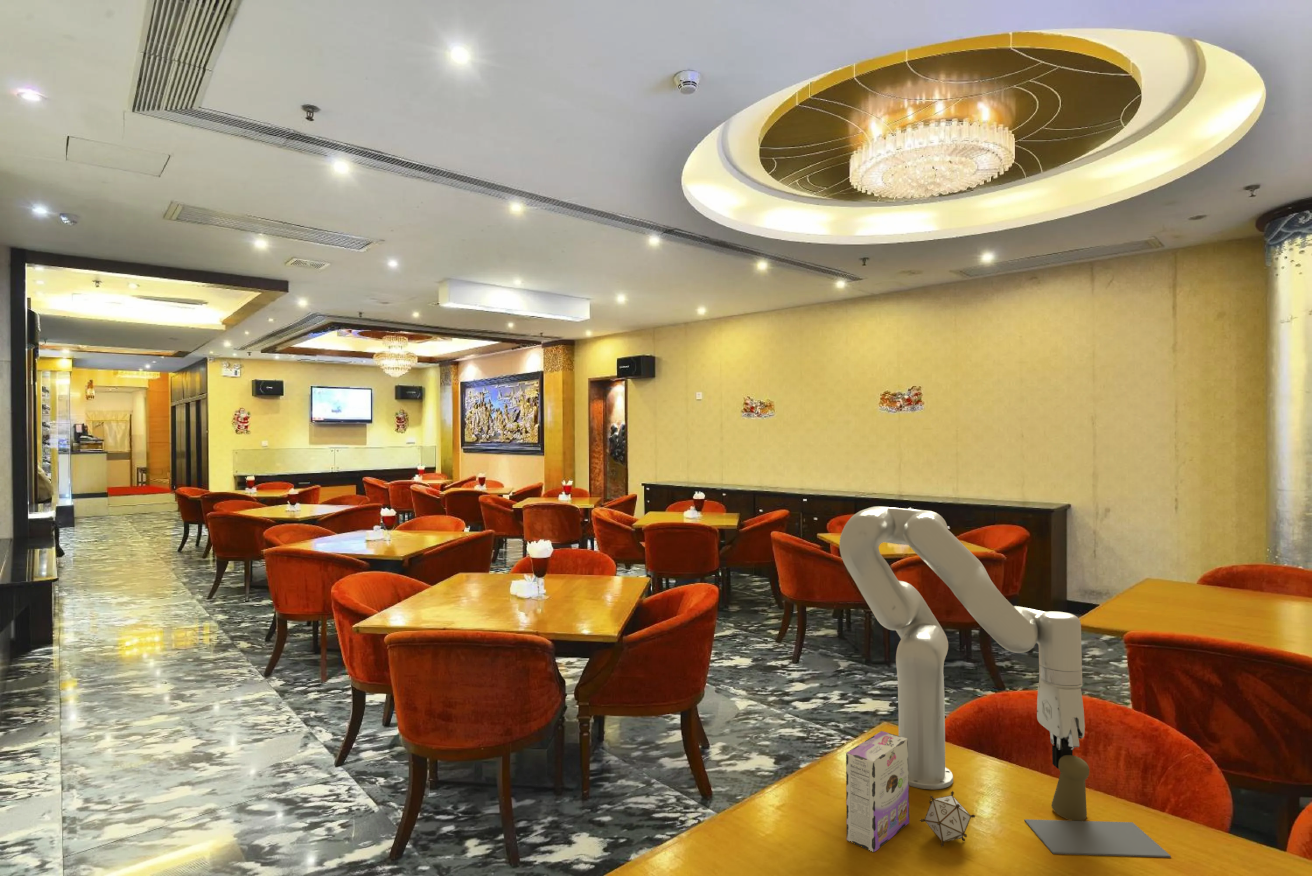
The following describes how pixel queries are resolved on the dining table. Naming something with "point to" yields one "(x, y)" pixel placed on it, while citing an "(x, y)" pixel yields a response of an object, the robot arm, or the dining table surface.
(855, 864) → the dining table surface
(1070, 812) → the cork
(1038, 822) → the felt mat
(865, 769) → the candy box
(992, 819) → the dining table surface
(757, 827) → the dining table surface
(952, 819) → the game die
